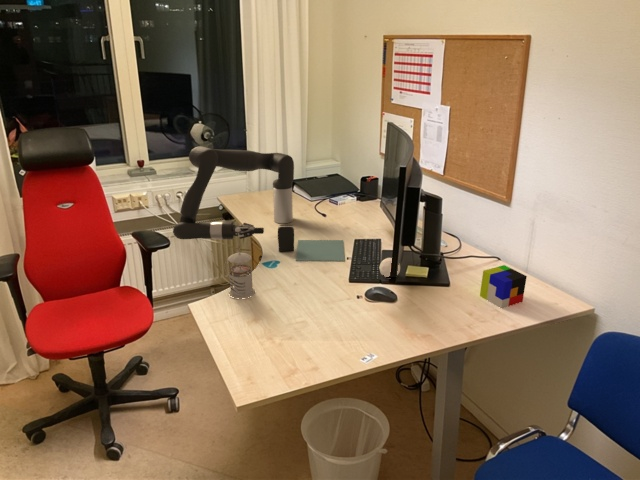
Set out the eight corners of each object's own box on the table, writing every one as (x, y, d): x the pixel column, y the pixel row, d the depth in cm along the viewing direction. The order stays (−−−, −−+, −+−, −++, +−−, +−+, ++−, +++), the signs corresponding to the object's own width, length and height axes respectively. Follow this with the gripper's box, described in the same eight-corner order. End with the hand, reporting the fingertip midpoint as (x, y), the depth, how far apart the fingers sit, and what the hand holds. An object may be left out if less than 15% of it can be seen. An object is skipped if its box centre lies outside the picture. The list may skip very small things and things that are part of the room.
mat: (298, 240, 228) (298, 239, 228) (342, 240, 228) (342, 240, 228) (295, 261, 208) (295, 260, 208) (344, 261, 208) (344, 260, 207)
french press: (243, 302, 176) (239, 235, 167) (218, 293, 182) (212, 228, 172) (261, 290, 184) (258, 226, 174) (236, 283, 190) (232, 219, 180)
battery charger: (294, 248, 220) (293, 223, 216) (294, 251, 216) (294, 226, 212) (278, 248, 219) (277, 223, 215) (278, 252, 216) (277, 227, 212)
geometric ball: (394, 283, 195) (407, 271, 191) (379, 281, 191) (392, 268, 186) (387, 267, 200) (400, 255, 195) (372, 264, 195) (385, 252, 191)
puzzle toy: (501, 308, 172) (505, 282, 168) (479, 296, 180) (483, 270, 177) (522, 302, 177) (526, 276, 173) (500, 290, 185) (504, 265, 181)
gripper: (218, 227, 207) (261, 227, 207) (224, 216, 219) (264, 216, 219) (220, 244, 210) (262, 244, 210) (225, 233, 222) (265, 233, 222)
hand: (263, 230), depth 215 cm, fingers closed
